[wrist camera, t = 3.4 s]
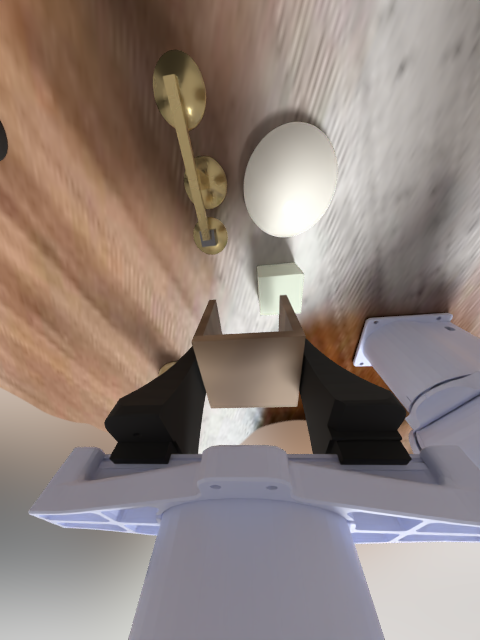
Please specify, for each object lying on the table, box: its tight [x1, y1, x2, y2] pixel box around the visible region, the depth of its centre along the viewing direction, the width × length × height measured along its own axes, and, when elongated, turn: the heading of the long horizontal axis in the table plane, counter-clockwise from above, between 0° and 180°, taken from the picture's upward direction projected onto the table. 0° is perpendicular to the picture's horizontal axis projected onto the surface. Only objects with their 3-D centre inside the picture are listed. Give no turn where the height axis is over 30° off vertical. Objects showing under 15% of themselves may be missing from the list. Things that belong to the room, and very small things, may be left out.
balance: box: [153, 50, 228, 255], centre depth 13 cm, size 4×11×6 cm, turn 6°
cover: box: [192, 295, 306, 408], centre depth 13 cm, size 6×6×5 cm
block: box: [257, 262, 304, 316], centre depth 19 cm, size 4×4×4 cm
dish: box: [244, 122, 338, 237], centre depth 15 cm, size 8×8×1 cm
